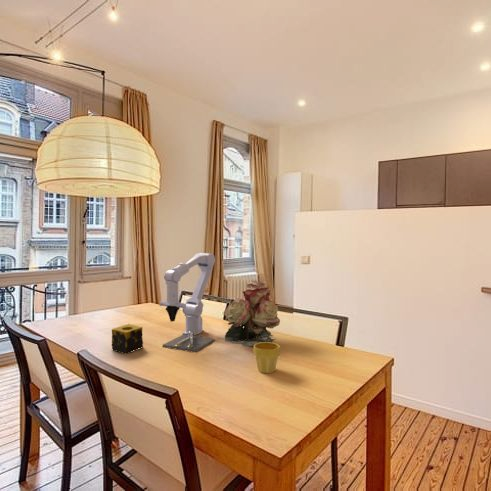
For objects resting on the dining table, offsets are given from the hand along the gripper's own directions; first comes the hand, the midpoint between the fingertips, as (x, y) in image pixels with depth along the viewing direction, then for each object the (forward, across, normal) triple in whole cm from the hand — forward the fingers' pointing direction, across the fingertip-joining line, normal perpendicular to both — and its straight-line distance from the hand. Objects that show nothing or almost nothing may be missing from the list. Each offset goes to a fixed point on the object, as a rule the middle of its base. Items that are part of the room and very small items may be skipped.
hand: (172, 321), depth 177 cm
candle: (+10, -11, -20) cm, 25 cm away
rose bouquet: (+10, +38, +17) cm, 42 cm away
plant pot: (+10, +56, -17) cm, 59 cm away
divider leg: (+8, +12, -2) cm, 14 cm away
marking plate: (+9, +11, -2) cm, 15 cm away
